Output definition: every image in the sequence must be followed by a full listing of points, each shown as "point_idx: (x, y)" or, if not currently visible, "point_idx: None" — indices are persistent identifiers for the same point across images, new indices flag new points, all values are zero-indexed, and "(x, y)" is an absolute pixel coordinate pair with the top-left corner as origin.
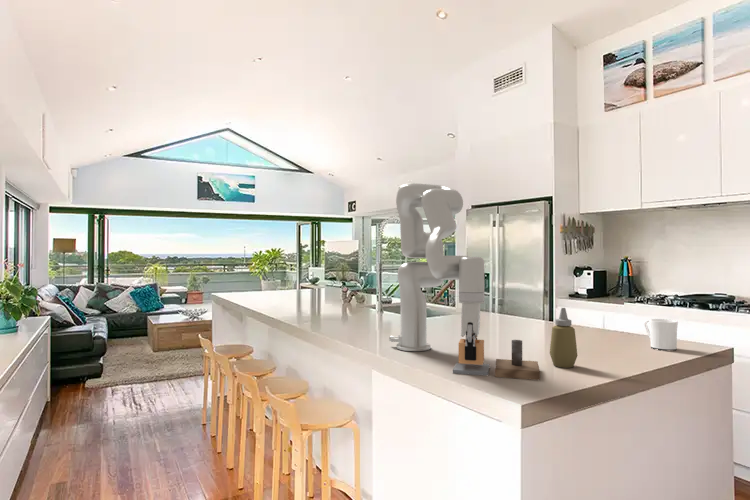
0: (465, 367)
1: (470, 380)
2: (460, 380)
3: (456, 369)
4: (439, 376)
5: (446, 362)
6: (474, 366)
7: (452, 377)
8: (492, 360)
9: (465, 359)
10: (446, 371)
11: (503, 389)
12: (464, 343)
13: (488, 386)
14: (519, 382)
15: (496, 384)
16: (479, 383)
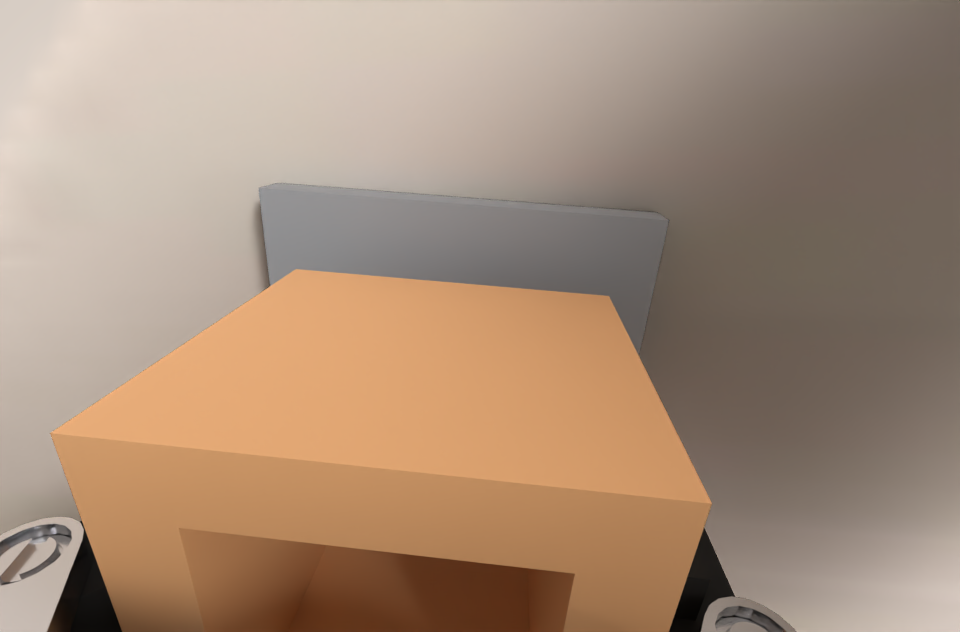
0: None
1: (103, 345)
2: (58, 263)
3: (289, 228)
4: (87, 29)
5: (832, 63)
6: None
7: (119, 184)
8: (892, 552)
9: None
10: (336, 100)
11: (7, 527)
12: (93, 544)
13: (17, 455)
14: None
15: None
16: (56, 405)
